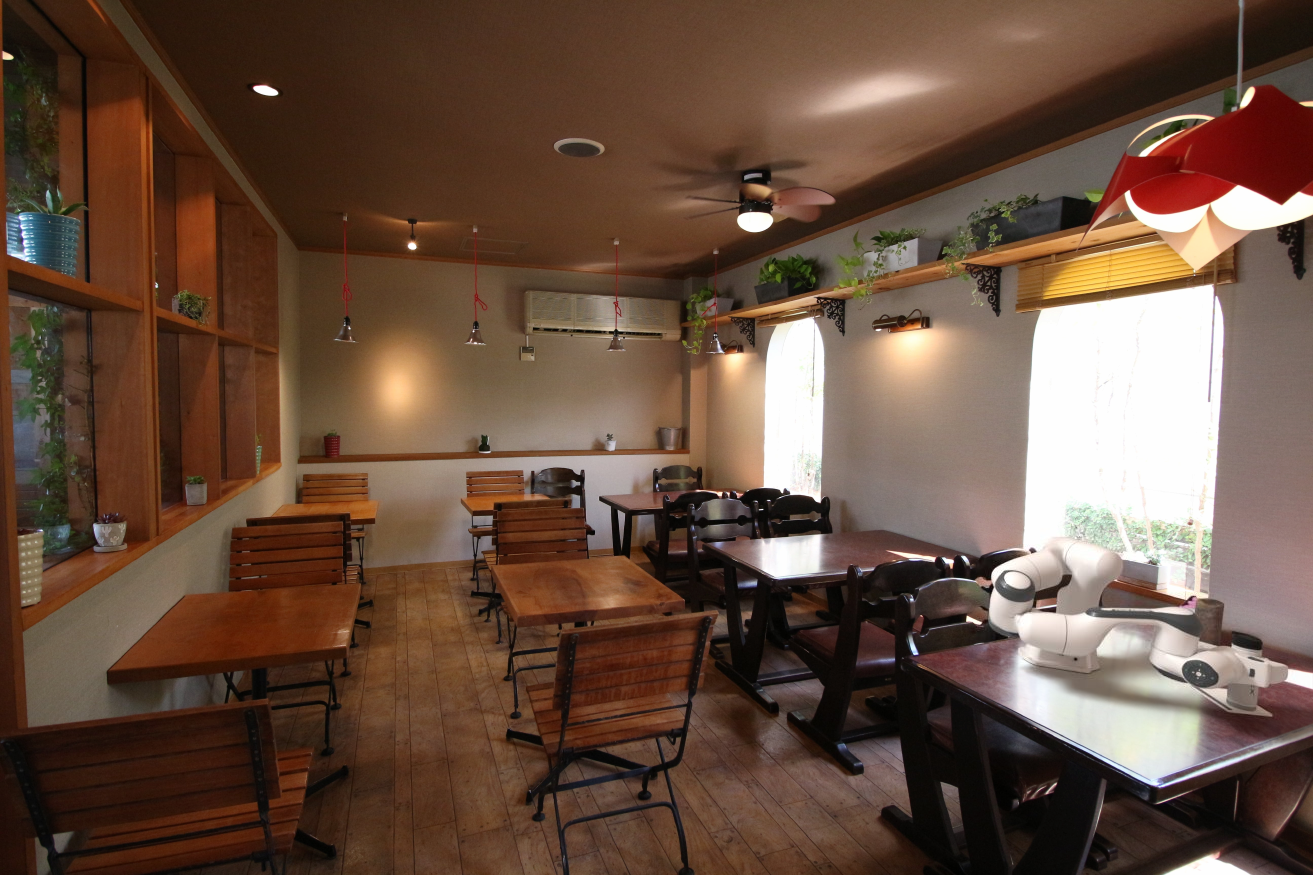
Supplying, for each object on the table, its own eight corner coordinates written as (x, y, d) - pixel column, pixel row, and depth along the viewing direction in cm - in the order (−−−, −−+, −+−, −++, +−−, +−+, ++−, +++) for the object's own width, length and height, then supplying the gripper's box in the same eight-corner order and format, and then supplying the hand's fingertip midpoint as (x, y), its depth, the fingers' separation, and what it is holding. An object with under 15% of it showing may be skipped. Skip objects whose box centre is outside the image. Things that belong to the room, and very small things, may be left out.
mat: (1227, 711, 179) (1228, 708, 179) (1190, 687, 195) (1191, 684, 195) (1272, 716, 177) (1272, 713, 177) (1231, 691, 193) (1231, 688, 193)
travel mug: (1224, 698, 186) (1230, 628, 186) (1255, 706, 182) (1262, 634, 181) (1224, 705, 182) (1231, 633, 181) (1256, 713, 177) (1264, 639, 177)
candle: (1224, 663, 216) (1229, 602, 215) (1210, 665, 213) (1215, 604, 212) (1197, 654, 223) (1202, 596, 222) (1183, 656, 221) (1189, 597, 220)
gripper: (1178, 661, 184) (1200, 653, 191) (1274, 690, 166) (1295, 681, 173) (1180, 639, 184) (1202, 632, 190) (1276, 666, 166) (1297, 657, 173)
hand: (1247, 655), depth 182 cm, fingers closed on travel mug, 6 cm apart
